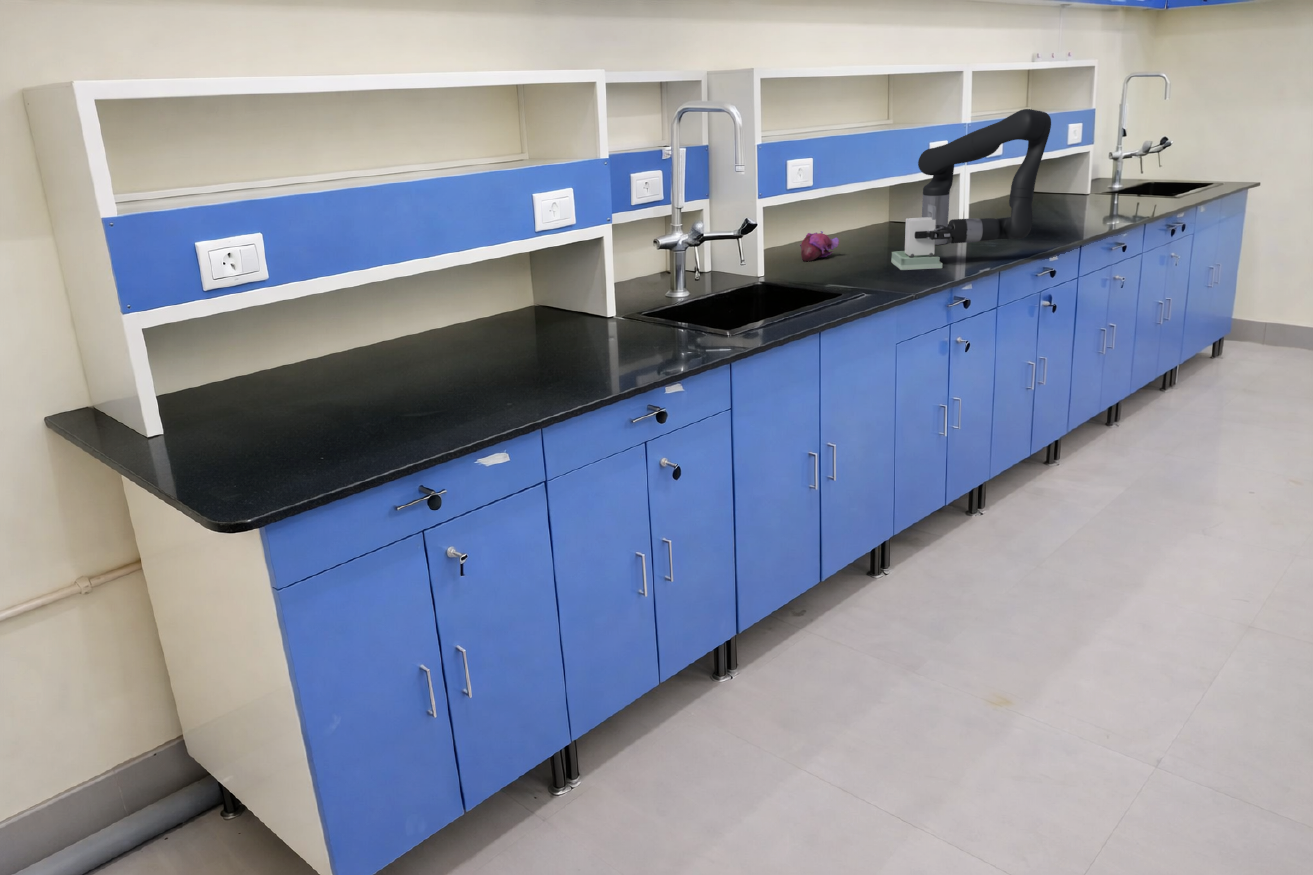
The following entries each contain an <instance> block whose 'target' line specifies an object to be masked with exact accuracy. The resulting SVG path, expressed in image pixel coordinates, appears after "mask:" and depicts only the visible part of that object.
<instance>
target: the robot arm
mask: <svg viewBox="0 0 1313 875" xmlns="http://www.w3.org/2000/svg"><path fill="white" fill-rule="evenodd" d="M1051 128H1052V119H1051V116H1050V115H1049V114H1048V113H1047V112H1045V111H1041V110H1036V109H1031V108H1024V109H1021V110H1018V111H1016V112H1014V113H1012V114H1010V115H1009V116H1007V117H1005V118H1003V119H1002V120H999V121H997V122H995V123H992V124H990V125H987V126H984V127H982V128H979V129H977V130H974V131H972V132H970V133H967V134H965V135H963V136H961V137H958V138H957V139H955V140H953V141H950V142H948V143H945V144H943V145H939V146H936V147H932V148H931V147H930V148H928V149H926V150H924V151H923V152H922V153H921V154H920V155H919V158H918V162H917V164H918V165H917V166H918V169H919V170H920V172H921V173H922V174H924V175H927V176H932V179H931V180H930V181H929V183H927V184H925V185H924V186H923V188H922V201H921V202H922V206H921V208H922V209H921V218H922V217H928V204H931V205H933V206H936V213H935V219H936V225H935V229H934V230H929V231H916V232H915V238H916V239H922V238H927V239H931V240H935V246H937V245H939V246H940V245H945V244H947V243H948V242H949V243H950V244H964V243H966V244H967V243H975V242H982V241H983V242H986V241H988V242H989V241H995V240H1023V239H1025V238H1026V237H1028V235H1029V234H1030V232H1031V230H1032V226H1033V202H1034V201H1033V200H1034V195H1035V193H1034V192H1035V187H1036V180H1037V176H1038V173H1039V168H1040V165H1041V162H1042V159H1043V155H1044V152H1045V149H1046V147H1047V142H1048V140H1049V137H1050V136H1049V135H1050V133H1051ZM1017 140H1018V141H1019V140H1020V141H1028V142H1027V151H1026V153H1025V157H1024V159H1023V160H1022V163H1021V165H1019V168H1018V169H1017V171H1016V172H1015V174H1014V176H1013V178H1012V181H1011V184H1010V193H1009V200H1008V204H1009V207H1010V208H1011V209H1010V210H1011V211H1010V217H1009V216H1007V217H1000V218H995V217H989V218H988V217H986V218H985V217H984V218H956V219H955V218H954V219H949V214H950V211H949V210H950V209H949V208H950V195H951V194H950V193H951V189H952V185H953V182H954V181H953V180H954V172H955V165H958V164H965V163H966V164H967V163H971V162H975V161H979V160H981V159H983V158H987V157H989V156H991V155H993V154H995V153H996V152H997V150H999V148H1000V146H1001V145H1003V144H1004V143H1009V142H1012V141H1017ZM931 217H932V213H931Z"/></svg>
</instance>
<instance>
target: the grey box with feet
mask: <svg viewBox="0 0 1313 875" xmlns="http://www.w3.org/2000/svg"><path fill="white" fill-rule="evenodd" d="M931 213H932V217H931ZM935 213H936V206H933V205H931V204H928V217H922V216H921V217H911V218H910V217H909V218H905V230H904V231H905V232H904V233H905V234H904V235H905V236H904V237H905V238H904V251H905V254H906V256H909V258H914V257H915V255H927V256H928V257H934V255H935V247H936V245H935V240H931V239H927V238H922V239H916V238H915V232H916V231H929V230H934V229H935V225H936V219H935Z"/></svg>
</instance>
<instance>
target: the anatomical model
mask: <svg viewBox="0 0 1313 875" xmlns="http://www.w3.org/2000/svg"><path fill="white" fill-rule="evenodd" d="M804 237H805V238H804V239H802V241H801V243H799V246H800V256H801V259H802V261H803V262H805V261H806V263H808V261H809V262H812V261H814V260H816V259H818V258H826V257H829V256H830V255H832V253H834V251H829V250H834V248H838V247H839V243H840V240H839V238H838V237H834V238H830V237H829V236H828V235H827V234H826V233H824V231H822V230H821V231H820V233H818V232H814V233H811V232H808V233H806V235H805V236H804Z"/></svg>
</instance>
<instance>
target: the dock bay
mask: <svg viewBox="0 0 1313 875" xmlns="http://www.w3.org/2000/svg"><path fill="white" fill-rule="evenodd" d="M890 260H891V261H890V262H891V263H892V264H893V265H894V266H895V267H896V268H898V269H899V270H900V271H908V270H909V271H910V270H927V269H929V270H930V269H943V262H941V261H940V256H933V257H928V256H927V255H915V257H914V258H909V256H906V254H905V250H899V251H898V250H896V251H891V259H890Z"/></svg>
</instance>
